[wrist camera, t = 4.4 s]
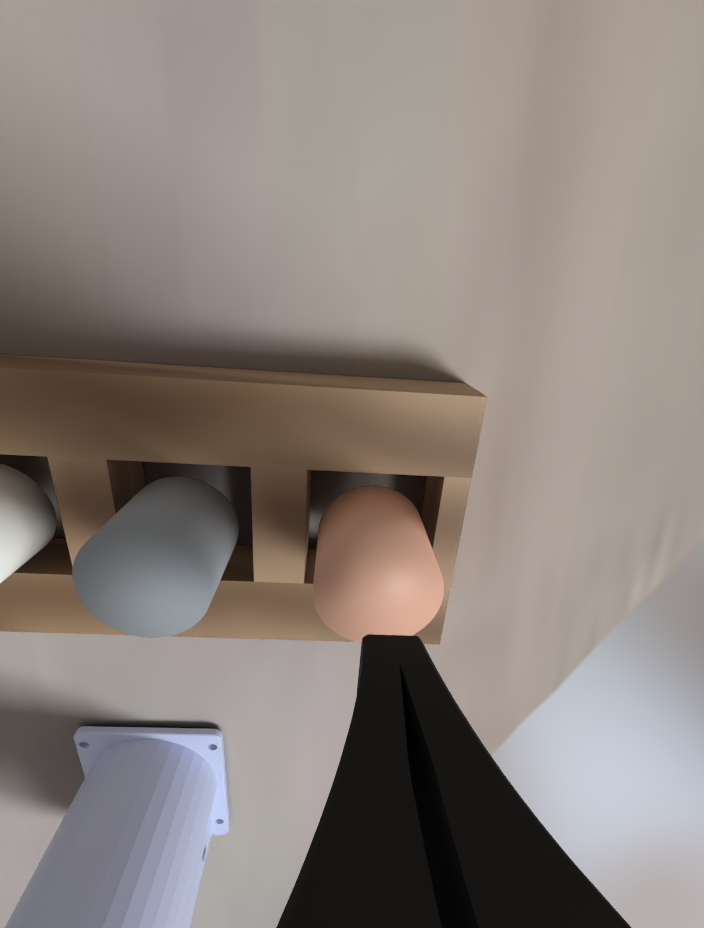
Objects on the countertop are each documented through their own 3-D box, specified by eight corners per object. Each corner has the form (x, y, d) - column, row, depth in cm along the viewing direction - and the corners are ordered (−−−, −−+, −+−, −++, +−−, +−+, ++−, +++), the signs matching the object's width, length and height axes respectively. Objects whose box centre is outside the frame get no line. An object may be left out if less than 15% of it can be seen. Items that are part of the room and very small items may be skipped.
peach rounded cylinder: (415, 577, 16) (434, 646, 13) (316, 573, 16) (310, 642, 13) (429, 488, 15) (454, 540, 12) (320, 482, 15) (314, 534, 11)
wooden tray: (428, 604, 20) (439, 644, 18) (-13, 589, 19) (-62, 629, 17) (466, 383, 16) (486, 397, 14) (-93, 348, 15) (-172, 357, 13)
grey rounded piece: (241, 570, 16) (215, 639, 13) (137, 567, 16) (85, 635, 13) (236, 479, 15) (207, 530, 11) (122, 473, 14) (59, 524, 11)
